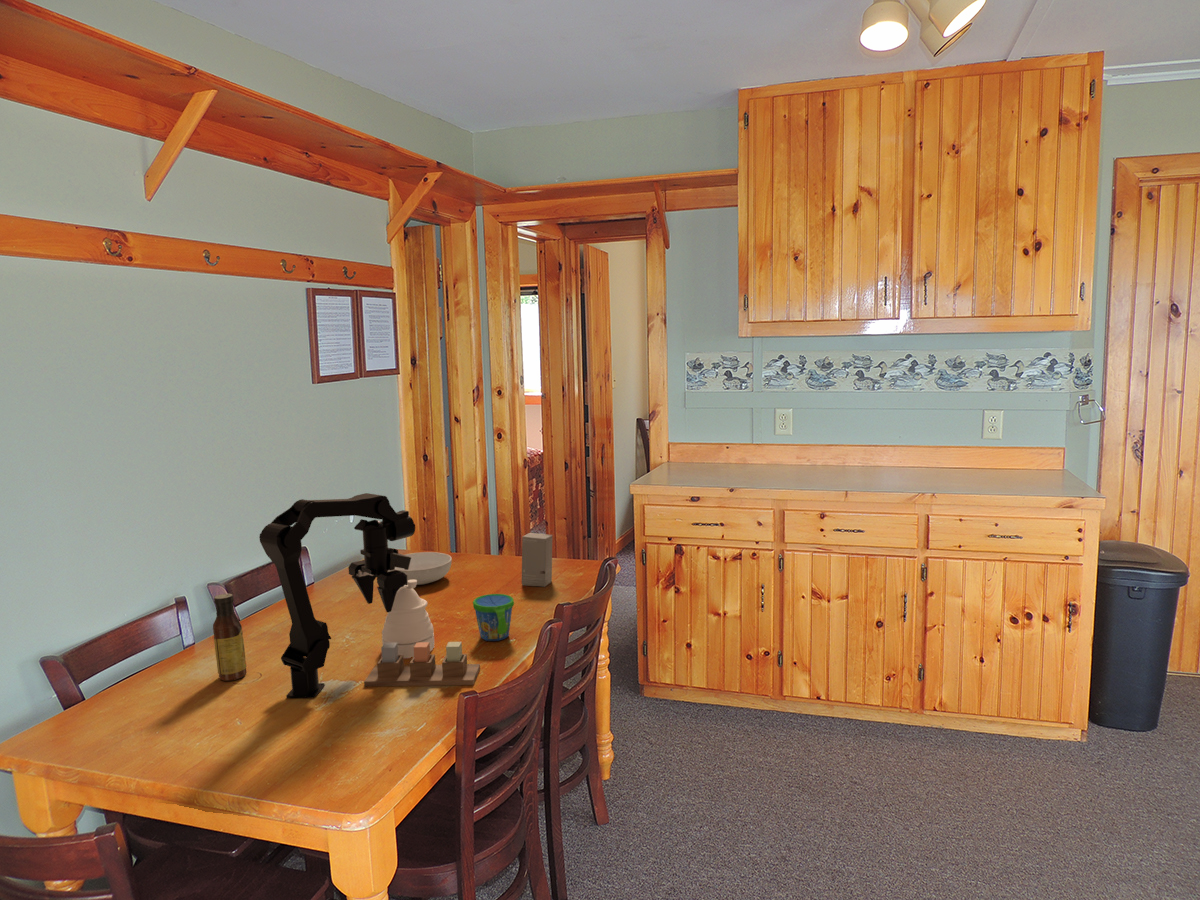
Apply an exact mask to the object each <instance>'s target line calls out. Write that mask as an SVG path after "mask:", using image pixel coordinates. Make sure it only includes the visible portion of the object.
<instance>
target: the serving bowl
mask: <svg viewBox="0 0 1200 900" xmlns="http://www.w3.org/2000/svg"><path fill="white" fill-rule="evenodd" d="M405 555H406V556H409V557H411V561H410V565H409V569H408V570H405V569H404V568H398V567H395V569H394V570H398V571H401V572H403V573H405V574H406V575H407V578H408V580H412V579H415V580H417V585H416V586H421V585H427V584H430V583H433V582H436V581H439V580H441V579H442V578H444V577H445V576H446V575H447V574H448V572H450V569H451V566H452V563H453V562H452V561H453V560H452V559H453V558H452V556H451V555H450V554H447V553H444V552H436V551H435V552H434V551H422V552H412V553H406V554H405ZM394 570H388V572H390V571H394Z"/></svg>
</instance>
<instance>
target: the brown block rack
mask: <svg viewBox="0 0 1200 900" xmlns="http://www.w3.org/2000/svg"><path fill="white" fill-rule="evenodd" d="M398 657H399V659H398V661H397V662H385V663H382V656H381V657H380V659H379V660H378V662H377V663H376V665H375V666H373V668H372V670H371V671H370V673H369V674H367V676H366V678H365V679H364V681H363V686H364V687H420V686H421V687H424V686H425V687H426V686H428V687H429V686H430V687H431V686H433V687H434V686H438V687H439V686H474V685H475V682H476V680H477V678H478V675H479V673H480V670H481V664H480V663H469V664H468V654H467V653H462V661H454V662H447V655H446V654H445V656H444V658H443V659H442V662H441V664H436V654H430V660H429V662H414V657H413V658H411V660H410V662H409V664H405V661H404V660H405V658H403V655H398Z"/></svg>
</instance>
